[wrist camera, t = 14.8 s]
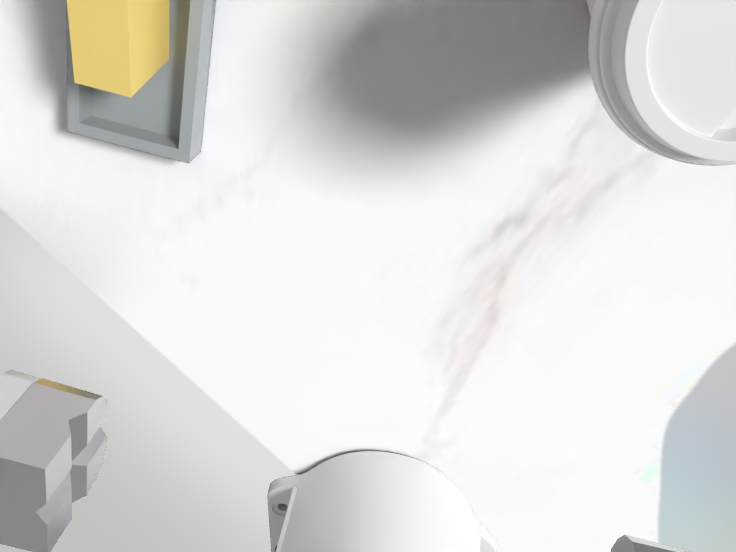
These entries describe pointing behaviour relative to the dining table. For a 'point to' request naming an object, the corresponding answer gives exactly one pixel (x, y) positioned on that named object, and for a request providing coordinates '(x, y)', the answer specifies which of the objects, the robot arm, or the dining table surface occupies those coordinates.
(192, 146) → the tray
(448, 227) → the dining table surface
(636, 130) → the coffee cup
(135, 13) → the yellow rectangular block
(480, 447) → the dining table surface
